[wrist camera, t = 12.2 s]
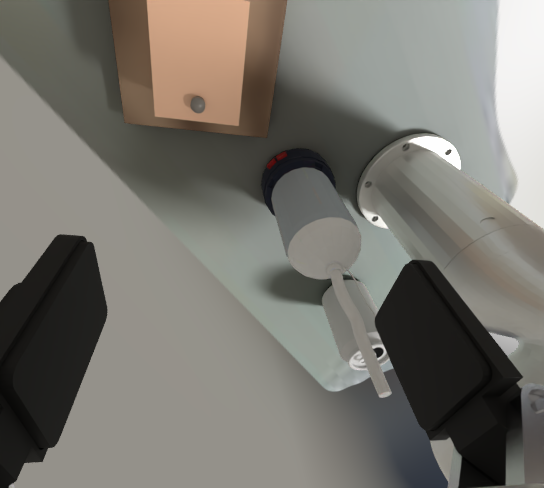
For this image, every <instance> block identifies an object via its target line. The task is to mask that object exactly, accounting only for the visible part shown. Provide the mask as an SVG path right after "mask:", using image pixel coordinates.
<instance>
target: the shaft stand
mask: <svg viewBox="0 0 544 488" xmlns="http://www.w3.org/2000/svg"><path fill="white" fill-rule="evenodd" d="M245 1H249V2H250V8H249V19H248V29H247V40H246V51H245V62H244V73H243V84H242V95H241V106H240V116H239V126H234V125H225V124H216V123H208V122H199V121H190V120H181V119H173V118H164V117H155V111H154V97H153V83H152V68H151V54H150V39H149V25H148V11H147V0H108V2H109V9H110V17H111V24H112V32H113V39H114V47H115V54H116V62H117V70H118V77H119V85H120V92H121V100H122V107H123V115H124V122H125V123H129V124H138V125H148V126H157V127H167V128H177V129H186V130H196V131H205V132H215V133H224V134H234V135H244V136H253V137H263V138H267V134H268V128H269V121H270V114H271V107H272V101H273V94H274V87H275V80H276V73H277V67H278V60H279V53H280V46H281V39H282V33H283V26H284V19H285V12H286V5H287V0H245Z"/></svg>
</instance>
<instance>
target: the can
mask: <svg viewBox="0 0 544 488" xmlns="http://www.w3.org/2000/svg"><path fill="white" fill-rule="evenodd" d="M356 282H357V284H358V286H359V288H360V290H361V292H362V294H363V296H364V297H365V299H366V301H367V303H368V304H369V306H370V307H371V308H372V310H373V311H374V313H375V315H377V313H378V309H377V307H376V305H375V303H374V301H373V299H372V297H371V295H370V293H369V291H368V289H367V288H366V286H365V284H363V283H362V282H360V281H356ZM344 283H345V286H346V289H347V291H348V293H349V296H350V298H351V299H352V301H353V303H354V305H355V306H356V308H357V309H358V311H359V313H360V315H361V316H362V319H363V321H364V325H365V329H366V332H367V335H368V338H369V340H370V343H371V345H372V348H373V350H374V352H375V355H376V357H377V359H378V362H379V364H380V366H381V365H382V364H384V363H386V362H387V361H388V360H389V359H390V358H389V356H388V354H387V352H386V349H385V347H384V345H383V343H382V341H381V338H380V336H379V334H378V332H377V329H376V327H375V316H374V314H373V313H372V311H371V310H370V308H369V307H368V305H367V304H366V302H365V300H364V299H363V297H362V295H361V293H360V291H359V289H358V287H357V285H356V283H355V281H354V280H344ZM322 304H323V307H324V310H325V313H326V316H327V319H328V322H329V324H330V327H331V330H332V333H333V336H334V339H335V342H336V344H337V347H338V350H339V353H340V356H341V357H342V359H343V360H345V361H347V362H348V365H349V366H350V367H351V368H353V369H355V370H368V369H367V366H366V364H365V361H364V359H363V357H362V354H361V352H360V350H359V347H358V345H357V342H356V339H355V337H354V333H353V329H352V325H351V322H350V320H349V319H348V317H347V315H346V313H345V312H344V310H343V309H342V307H341V305H340V303H339V301H338V299H337V296H336V294H335V291H334V288H333V285H331V286H330V287H329V288H328V289H327V291H326V292H325V293H324V295H323V297H322Z"/></svg>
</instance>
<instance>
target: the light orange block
mask: <svg viewBox="0 0 544 488" xmlns="http://www.w3.org/2000/svg"><path fill="white" fill-rule="evenodd" d="M249 8H250V2H249V1H245V0H147V11H148V25H149V39H150V54H151V68H152V83H153V97H154V111H155V117H164V118H173V119H181V120H190V121H199V122H208V123H216V124H225V125H234V126H239V116H240V106H241V95H242V84H243V73H244V62H245V51H246V40H247V29H248V19H249Z"/></svg>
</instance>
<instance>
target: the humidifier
mask: <svg viewBox="0 0 544 488" xmlns="http://www.w3.org/2000/svg"><path fill="white" fill-rule="evenodd" d="M261 186H262V190H263V195H264V199H265V203H266V205H267V207H268V208H269V210H270V211H271V213H272V214H273V215H274V216H275V217H276V220H277V223H278V227H279V230H280V234H281V237H282V241H283V245H284V248H285V252H286V255H287V257H288V259H289V262H290V263H291V265H292V266H293V268H294V269H296V270H297V271H298V272H300V273H301V274H303V275H304V276H307V277H311V278H314V279H329V278H331V280H332V285H333V288H334V291H335V294H336V296H337V299H338V301H339V303H340V305H341V307H342V309H343V310H344V312H345V313H346V315H347V317H348V319H349V320H350V322H351V325H352V329H353V333H354V337H355V339H356V342H357V345H358V347H359V350H360V352H361V354H362V357H363V359H364V361H365V364H366V366H367V369H368V371H369V374H370V376H371V379H372V381H373V383H374V386H375V388H376V391H377V393H378V395H379V397H380V398H384V397H387V396H389V395H391V390H390V388H389V386H388V384H387V381H386V379H385V377H384V374H383V372H382V369H381V367H380V364H379V362H378V359H377V357H376V355H375V352H374V350H373V348H372V345H371V343H370V340H369V338H368V335H367V332H366V329H365V325H364V321H363V319H362V316H361V315H360V313H359V311H358V309H357V308H356V306H355V305H354V303H353V301H352V299H351V298H350V296H349V293H348V291H347V289H346V286H345V283H344V280H343V276H342V274H343V273H344V272H345V271H348V272H349V273H350V274H351V276H352V277H353V279H354V281H355V283H356V285H357V287H358V289H359V291H360V293H361V295H362V297H363V299H364V300H365V302H366V304H367V305H368V307H369V308H370V310H371V311H372V313H373V314H374V316H375V317H376V315H375V313H374V311H373V310H372V308H371V307H370V306H369V304H368V303H367V301H366V299H365V297H364V296H363V294H362V292H361V290H360V288H359V286H358V284H357V282H356V280H355V278H354V276H353V275H352V273H351V272H350V271H349V270H348V269H349V268H350V267H351V266H352V265H353V264H354V262H355V261H356V259H357V257H358V255H359V252H360V250H361V234H360V232H359V229H358V227H357V225H356V222H355V221H354V219H353V217H352V216H351V214H350V213H349V211H348V209H347V208H346V206H345V204H344V203H343V201H342V200H341V198H340V196H339V195H338V193H337V191H336V187H335V180H334V176H333V174H332V171H331V169H330V168H329V166H328V164H327V163H326V161H325V160H324V159H323V158H322V157H321V156H320V155H319V154H318V153H315V152H313V151H311V150H309V149H299V148H296V149H292V150H287V151H284V152H282V153H281V154H279V155H277V156H276V157H275V158H273V159H272V160H271V161H270V162H269V163H268V164H267V167H266V169H265V171H264V173H263V176H262V183H261Z"/></svg>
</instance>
